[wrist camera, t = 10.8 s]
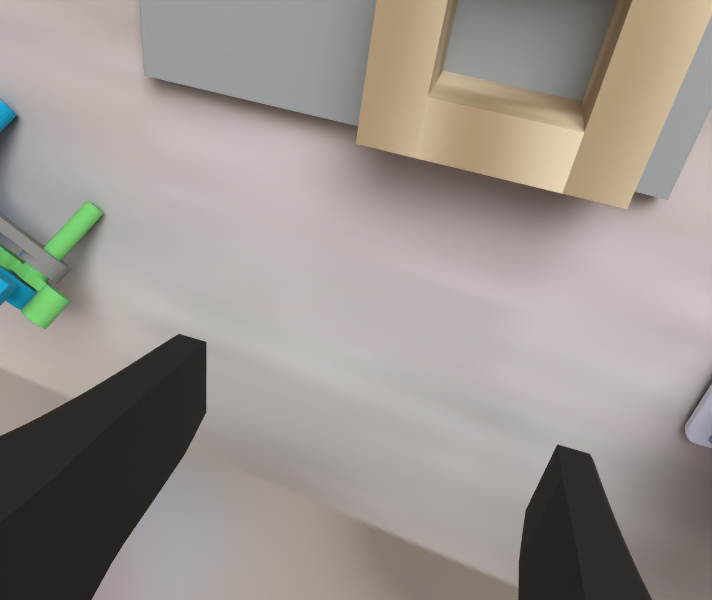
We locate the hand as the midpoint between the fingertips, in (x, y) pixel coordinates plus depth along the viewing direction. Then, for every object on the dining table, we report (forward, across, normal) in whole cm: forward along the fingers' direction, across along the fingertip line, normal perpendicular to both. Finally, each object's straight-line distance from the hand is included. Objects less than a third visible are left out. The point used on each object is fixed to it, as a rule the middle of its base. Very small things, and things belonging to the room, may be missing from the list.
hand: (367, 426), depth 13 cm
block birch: (+9, -1, -6) cm, 11 cm away
